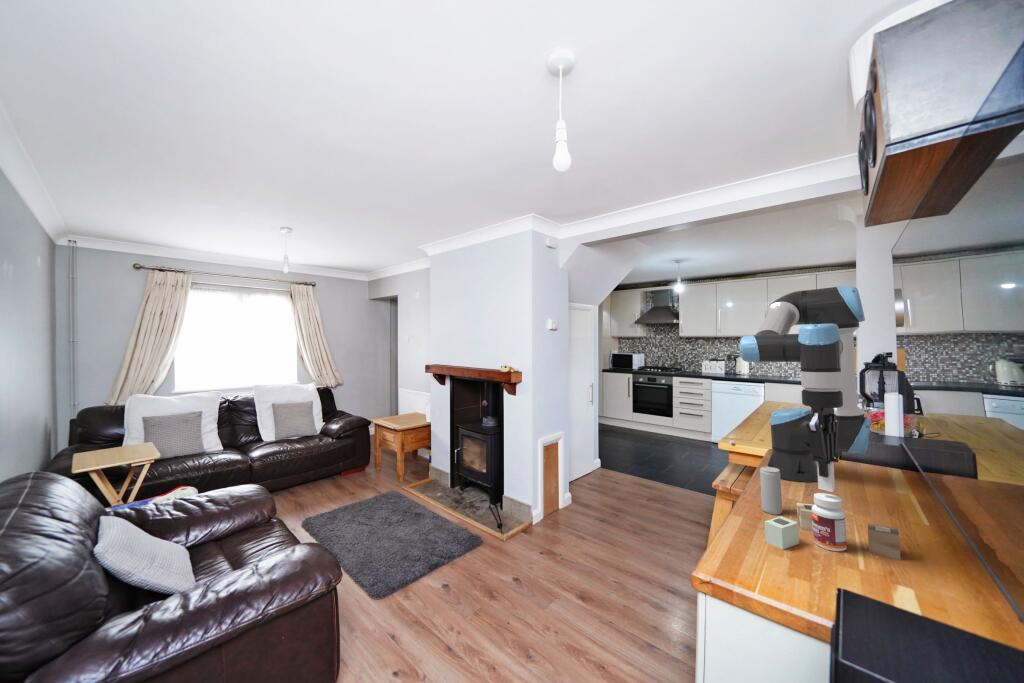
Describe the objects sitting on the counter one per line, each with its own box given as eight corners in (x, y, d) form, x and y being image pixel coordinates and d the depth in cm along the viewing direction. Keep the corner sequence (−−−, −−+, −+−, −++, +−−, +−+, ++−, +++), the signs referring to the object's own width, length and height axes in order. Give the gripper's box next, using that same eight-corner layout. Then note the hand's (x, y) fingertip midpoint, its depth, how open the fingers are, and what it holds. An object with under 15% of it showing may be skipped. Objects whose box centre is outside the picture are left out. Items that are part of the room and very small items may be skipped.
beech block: (797, 521, 102) (796, 502, 102) (821, 524, 100) (820, 504, 100) (801, 529, 97) (800, 509, 98) (826, 533, 95) (825, 512, 95)
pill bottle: (806, 541, 92) (804, 494, 92) (824, 536, 94) (822, 490, 94) (835, 554, 86) (832, 504, 86) (853, 549, 88) (851, 499, 88)
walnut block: (868, 543, 90) (867, 521, 90) (898, 550, 86) (897, 527, 86) (869, 553, 86) (867, 529, 86) (900, 560, 83) (899, 536, 83)
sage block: (781, 536, 95) (780, 515, 95) (799, 543, 91) (798, 521, 91) (765, 542, 93) (764, 520, 93) (782, 549, 89) (781, 527, 89)
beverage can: (785, 515, 105) (783, 472, 105) (766, 515, 106) (764, 471, 106) (777, 508, 110) (775, 466, 110) (758, 507, 111) (756, 466, 111)
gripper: (813, 385, 97) (818, 479, 96) (790, 390, 90) (795, 491, 89) (851, 387, 91) (857, 487, 90) (830, 393, 83) (836, 501, 83)
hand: (826, 489), depth 90 cm, fingers closed
